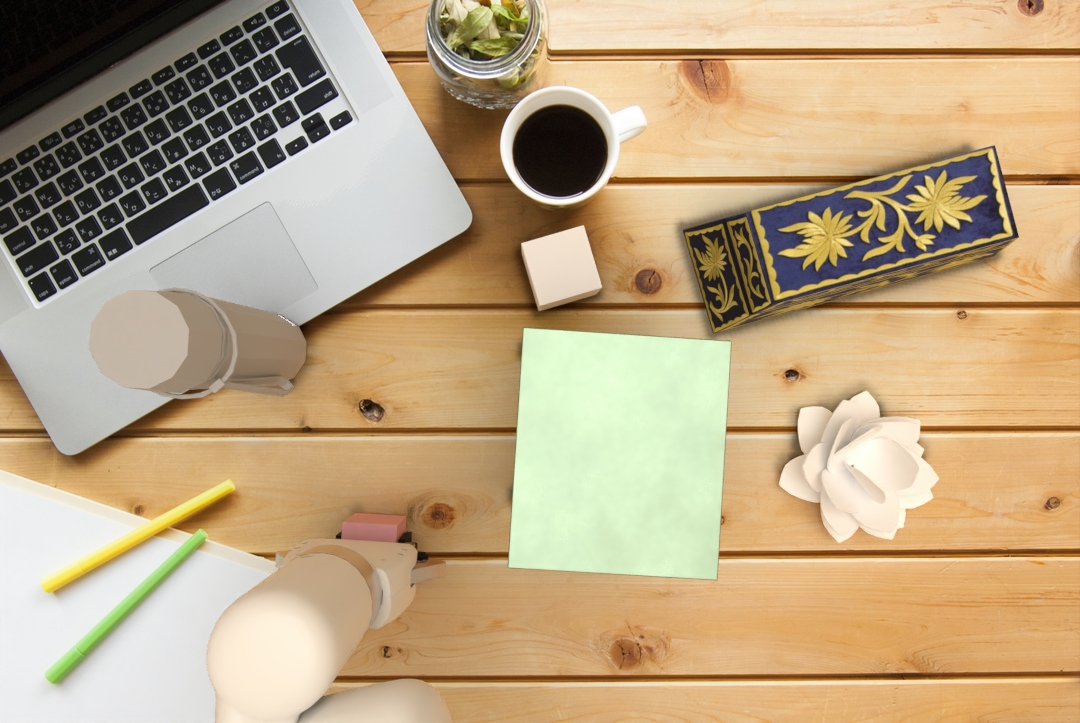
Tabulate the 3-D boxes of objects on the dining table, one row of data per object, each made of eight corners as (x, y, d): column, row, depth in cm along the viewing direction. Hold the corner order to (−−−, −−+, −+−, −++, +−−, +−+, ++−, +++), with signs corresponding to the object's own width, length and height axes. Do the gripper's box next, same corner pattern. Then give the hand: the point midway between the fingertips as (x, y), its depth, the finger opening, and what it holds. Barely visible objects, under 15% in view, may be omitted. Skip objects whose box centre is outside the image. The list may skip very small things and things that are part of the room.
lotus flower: (767, 398, 73) (811, 397, 64) (905, 387, 75) (966, 384, 66) (780, 544, 72) (827, 562, 63) (920, 528, 74) (983, 544, 65)
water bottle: (218, 348, 72) (55, 335, 47) (278, 295, 72) (148, 254, 47) (280, 418, 72) (150, 442, 47) (340, 365, 72) (242, 361, 47)
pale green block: (654, 512, 73) (717, 580, 49) (513, 503, 72) (507, 568, 48) (664, 351, 73) (732, 340, 49) (524, 342, 73) (523, 327, 49)
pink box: (402, 577, 71) (392, 592, 66) (350, 574, 71) (337, 588, 66) (406, 515, 71) (397, 525, 66) (355, 512, 71) (342, 521, 66)
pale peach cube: (538, 311, 73) (539, 306, 67) (521, 254, 73) (520, 243, 67) (596, 294, 73) (602, 287, 67) (579, 237, 73) (583, 224, 67)
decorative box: (682, 230, 73) (704, 210, 64) (968, 152, 74) (1029, 122, 65) (711, 334, 73) (737, 328, 64) (997, 255, 74) (1062, 239, 65)
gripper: (202, 645, 52) (287, 579, 71) (440, 659, 53) (463, 590, 71) (211, 539, 53) (293, 501, 71) (447, 554, 53) (469, 512, 71)
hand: (378, 546), depth 71 cm, fingers closed on pink box, 5 cm apart
